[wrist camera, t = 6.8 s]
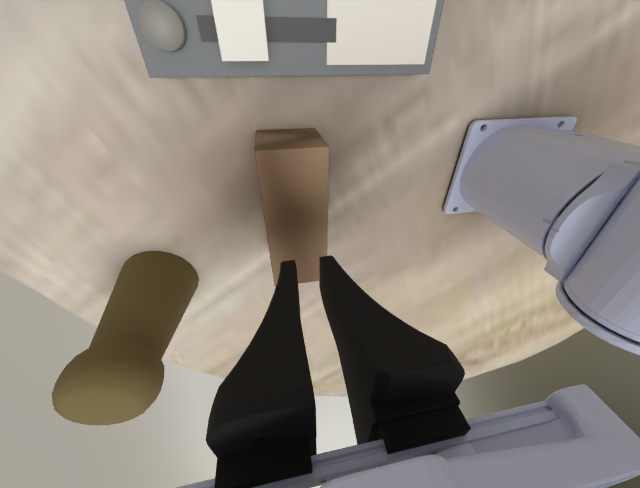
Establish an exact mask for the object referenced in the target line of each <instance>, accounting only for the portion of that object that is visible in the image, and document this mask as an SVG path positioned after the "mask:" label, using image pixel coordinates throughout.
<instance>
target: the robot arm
mask: <svg viewBox="0 0 640 488" xmlns="http://www.w3.org/2000/svg"><path fill="white" fill-rule="evenodd" d="M576 122H577V118H576V117H573V116H559V117H536V118H512V119H489V120H475V121H473V122H472V123H471V124H470V126H469V129H468V132H467V135H466V138H465V141H464V145H463V148H462V151H461V154H460V157H459V160H458V164H457V167H456V170H455V173H454V176H453V179H452V183H451V186H450V189H449V192H448V195H447V198H446V201H445V205H444V208H443V211H444V212H445V213H446V214H457V213H466V212H476V211H478V212H480V213H481V214H483V215H484V216H486V217H487V218H488V219H490V220H491V221H493V222H494V223H496V224H497V225H498V226H500V227H501V228H503V229H504V230H506V231H507V232H508V233H510V234H511V235H513V236H514V237H516V238H517V239H518V240H520V241H521V242H523V243H524V244H526V245H527V246H529V247H530V248H531V249H533V250H534V251H536V252H537V253H539V254H540V255H541V256H543V257H544V258H546V259H547V264H546V266H545V268H544V270H545V271H546V272H548V273H549V274H550V275H552V276H553V277H554V278H556V279H557V280H558V283H557V285H556V295H557V298H558V300H559V302H560V304H561V305H562V307H563V308H564V309H565V310H566V311H567V313H568V314H569V315H570V316H571V317H572V318H574V319H575V320H576V321H577V322H578V323H579V324H580V325H582V326H583V327H584V328H586V329H587V330H589V331H590V332H591V333H593V334H594V335H596V336H598V337H599V338H601V339H603V340H605V341H607V342H609V343H611V344H613V345H615V346H617V347H620V348H622V349H625V350H627V351H630V352H632V353H635V354H639V355H640V146H636V145H632V144H627V143H623V142H619V141H614V140H610V139H605V138H601V137H597V136H592V135H588V134H584V133H579V132H575V131H572V130H573V128H574V126H575V124H576ZM482 125H483V128H482V129H481V130H480V128H481V126H482ZM454 207H455V208H454ZM453 208H454V209H453ZM319 274H320V291H321V296H322V301H323V305H324V308H325V311H326V314H327V318H328V321H329V324H330V327H331V330H332V333H333V336H334V339H335V342H336V345H337V349H338V352H339V357H340V361H341V366H342V370H343V375H344V379H345V384H346V389H347V393H348V398H349V403H350V408H351V413H352V418H353V423H354V428H355V434H356V439H357V445H355V446H351V447H346V448H342V449H338V450H334V451H329V452H325V453H321V454H316V407H315V399H314V392H313V386H312V381H311V376H310V370H309V365H308V360H307V354H306V349H305V343H304V338H303V332H302V326H301V320H300V304H299V291H298V277H297V267H296V263H295V260H290V261H282V262H281V263H280V273H279V278H278V282H277V285H276V288H275V292H274V295H273V297H272V300H271V303H270V305H269V308H268V310H267V312H266V315H265V317H264V319H263V321H262V323H261V325H260V327H259V329H258V330H257V332H256V334H255V336H254V338H253V339H252V341H251V343H250V344H249V346H248V347H247V349H246V350H245V352H244V353H243V355H242V356H241V358H240V360H239V361H238V362H237V364H236V365H235V367H234V368H233V369H232V371H231V372H230V373H229V375H228V376H227V377H226V378H225V380H224V381H223V382H222V384H221V385H220V386H219V389H218V391H217V393H216V396H215V399H214V402H213V405H212V409H211V413H210V417H209V421H208V428H207V435H206V442H207V445H208V446H209V447H210V449H211V450H212V451H213V453H214V454H215V455H216V457H217V459H218V460H217V468H216V476H215V479H211V480H207V481H203V482H198V483H194V484H189V485H185V486H181V487H177V488H311V487H315V486H319V485H322V486H321V487H320V488H605V487H608V486H612V485H614V484H617V483H620V482H622V481H625V480H628V479H630V478H633V477H635V476H638V475H640V438H639V437H638V436H637V435H636V434H635V433H634V432H633V431H632V430H631V429H630V428H629V427H628V426H627V425H626V424H625V423H624V422H623V421H622V420H621V419H620V418H619V417H618V416H617V415H616V414H615V413H614V412H613V411H612V410H611V409H610V408H609V407H608V406H606V404H605V403H604V402H603V401H602V400H601V399H600V398H599V397H598V396H597V395H596V394H595V393H594V392H593V391H592V390H591V389H590V388H589V387H588V386H587V385H584V384H581V385H577V386H572V387H568V388H564V389H561V390H558V391H556V392H553V393H552V394H551V395H549V396H548V397H547V398H546V401H542V402H537V403H533V404H529V405H525V406H520V407H516V408H512V409H508V410H503V411H500V412H495V413H491V414H487V415H483V416H478V417H474V418H470V419H465V417H464V415H463V414H462V412H461V410H460V408H459V407H458V405H459V404H460V401H459V399H458V397H457V396H456V394H455V391H456V389H457V388H458V386H459V384H460V383H461V382H462V380H463V377H464V374H465V373H464V369H463V367H462V366H461V364H460V363H459V361H458V359H457V358H456V357H455V355H454V354H453V353H452V351H451V350H450V349H449V347H448V346H447V345H446V344H444V343H442V342H440V341H438V340H436V339H434V338H432V337H430V336H428V335H426V334H424V333H422V332H420V331H418V330H416V329H415V328H413V327H411V326H410V325H408V324H406V323H405V322H403V321H402V320H400V319H399V318H397V317H396V316H394V315H393V314H391V313H390V312H388V311H387V310H386V309H384V308H383V307H382V306H381V305H379V304H378V303H377V302H376V301H374V300H373V299H372V298H371V297H370V296H369V295H367V294H366V293H365V292H364V291H363V290H362V289H361V288H360V287H359V286H358V285H357V284H356V283H355V282H354V281H353V280H352V279H351V278H350V277H349V275H348V274H347V273H346V272H345V271H344V270H343V269H342V267H341V266H340V265H339V264H338V262H337V261H336V260H335V259H334V257H333V256H323V257H319ZM323 484H324V485H323Z"/></svg>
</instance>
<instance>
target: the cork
mask: <svg viewBox="0 0 640 488" xmlns="http://www.w3.org/2000/svg"><path fill="white" fill-rule="evenodd" d="M198 281H199V279H198V275H197V272H196V270H195V269H194V268H193V267H192V265H191V264H190V263H188V262H187V261H185V260H184V259H183V258H181V257H178V256H176V255H173V254H171V253H166V252H160V251H150V252H143V253H139V254H136V255H134V256H132V257H131V258H129V259H128V260H127V261H126V262H125V264H124V266H123V267H122V269H121V272H120V274H119V277H118V279H117V282H116V284H115V286H114V289H113V291H112V294H111V296H110V298H109V301H108V303H107V306H106V308H105V311H104V313H103V315H102V318H101V320H100V323H99V325H98V328H97V330H96V333H95V335H94V337H93V340H92V342H91V344H90V347H89V349H87V350H85V351H84V352H82V353H80V354H79V355H77V356H76V357H75V358H74V359H73V360H72V361H71V362H70V363H69V364H68V365H66V367H65V368H64V370H63V372H62V373H61V374H60V376H59V378H58V380H57V381H56V383H55V386H54V389H53V392H52V399H53V406H54V409H55V411H56V412H58V413H59V414H60V415H61V416H63V417H64V418H66V419H68V420H70V421H72V422H76V423H81V424H87V425H110V424H116V423H122V422H125V421H128V420H131V419H133V418H135V417H137V416H139V415H141V414H143V413H144V412H145V411H146V409H148V408H149V407H150V406H151V404H152V403H153V402H154V401H155V400H156V398H157V396H158V394H159V393H160V391H161V387H162V384H163V379H164V365H163V363H162V361H161V359H162V357H163V355H164V353H165V351H166V349H167V347H168V345H169V343H170V341H171V339H172V337H173V335H174V333H175V331H176V329H177V327H178V325H179V323H180V321H181V319H182V317H183V315H184V313H185V311H186V309H187V307H188V305H189V303H190V300H191V298H192V296H193V294H194V292H195V290H196V288H197V286H198Z"/></svg>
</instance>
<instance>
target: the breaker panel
mask: <svg viewBox="0 0 640 488" xmlns="http://www.w3.org/2000/svg"><path fill="white" fill-rule="evenodd" d="M124 1H125V4H126V7H127V10H128V13H129V16H130V19H131V22H132V25H133V28H134V31H135V34H136V37H137V40H138V43H139V46H140V49H141V52H142V56H143V59H144V62H145V65H146V68H147V71H148V74H149V77H150V78H161V77H241V76H321V75H400V74H429V72H430V67H431V62H432V57H433V53H434V48H435V43H436V38H437V33H438V29H439V24H440V19H441V14H442V9H443V4H444V0H124Z"/></svg>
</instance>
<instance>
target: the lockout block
mask: <svg viewBox="0 0 640 488" xmlns="http://www.w3.org/2000/svg"><path fill="white" fill-rule="evenodd" d="M255 157H256V164H257V171H258V178H259V184H260V191H261V198H262V205H263V211H264V218H265V225H266V231H267V238H268V245H269V252H270V258H271V265H272V272H273V278H274V285H275V286H276V285H277V282H278V278H279V273H280V263H281V262H282V261H290V260H295V263H296V267H297V277H298V283H305V282H312V281H320V274H319V257H323V256H327V226H328V173H329V146H328V145H327V144H326V142H325V141H324V140H323V139H322V137H321V136H320V135H319V133H318V132H317V131H316V130H315V128H306V129H282V130H258V131H256V139H255Z"/></svg>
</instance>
